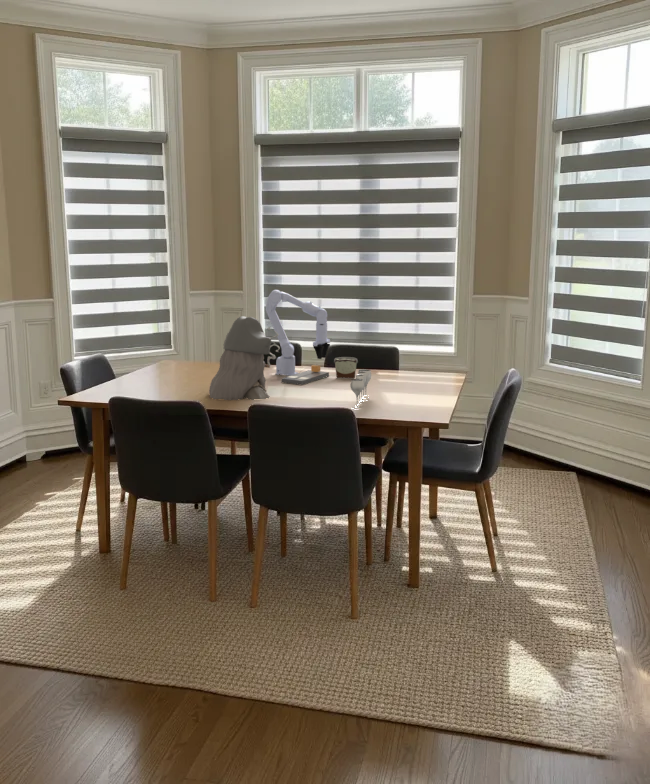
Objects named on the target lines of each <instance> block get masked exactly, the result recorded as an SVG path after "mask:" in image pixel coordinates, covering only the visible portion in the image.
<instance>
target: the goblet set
mask: <svg viewBox="0 0 650 784" xmlns="http://www.w3.org/2000/svg"><path fill="white" fill-rule="evenodd" d="M357 371H358V372H357V374H355V379H354V378H351V382H350V386H349V387H350V390H351V391H352V392H353V393H354V395H355V397H356V398H355V399H356V404H357V406H354V407H355V408H359V407H360V406H358V405H360V404H361V403H360V402H364V401H365V400H362V399H366V398H364V396H367V388H368V387H367V386H368V384H369V383H370V381H371V379H372V370H371V369H366V368H363V369H361V368H360V369H358V370H357ZM362 396H363V397H362ZM360 398H361V400H360ZM358 401H359V403H358ZM351 409H352V410H355V409H354V408H352V407H351Z"/></svg>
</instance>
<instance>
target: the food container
mask: <svg viewBox="0 0 650 784" xmlns="http://www.w3.org/2000/svg"><path fill="white" fill-rule="evenodd" d="M333 363H334V365H335V366H334V368H335V376H336V377H337V378H336V377H335V378H336V379H354V378H355V379H356V371H357V364H358V363H359V361H358V358H356V357H353V356H352V357H351V356H341V357H340V356H339V357H335V358H334V359H333Z"/></svg>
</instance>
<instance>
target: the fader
mask: <svg viewBox="0 0 650 784" xmlns="http://www.w3.org/2000/svg"><path fill="white" fill-rule="evenodd" d="M310 368H311V369H310V370H311V371H312V372H320V371H321V365H317V364H312V365H311V367H310Z"/></svg>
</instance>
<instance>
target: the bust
mask: <svg viewBox="0 0 650 784" xmlns="http://www.w3.org/2000/svg"><path fill="white" fill-rule="evenodd" d="M267 330H268V331H272V332H274V329H271V326H269V327H267ZM277 337H278V333H277V332H276V333H275V335H274V336H271V337H268V336H267V335H266V334H265V331H264V329H263V327H262V324H261V323H260V321H259V320H258V319H257V318H255V317H253V316H246V315H245V316H244V315H243V316H239V317H237V318H236V319H235V320H234V321H233V323H232V325H231V328H230V329H229V331H228V332H227V334H226V336H225V339H224V341H223V349H224V350H223V353H222V354H221V356H220V358H219V367H218V370H217V372H216V374H215V375H214V376H213V378H212V380H211V382H210V383H209V385H210V386H209V389H208V390H209V392H208V393H209V394H210V395H209V398H210V397H211V398H213V399H212V400H215V399H224V401H239V400H238V399H240V400H243V399H246V398H248V399H247V400H250V399H251V400H252V401H255V400H254V399H263V400H266V398H268V399H269V397H270V395H269V394H268V393H267V389H266V377H265V374H264V373H265V372H264V371H265V368H269V369H270V368H271V363H270V360H277V356H276V355H275V354H273V353H272V352H271V348H272V347H273V346H274V347H277V349H276V350H274V351H275V352H276V353H280V352H279V351H280V350H281V346H279V345H278V344H276V342H275V341H272V339H273V338H277ZM272 343H273V344H272ZM264 355H268V356H267V359H266V360H267V361H266V362H267V364H266V362H265V361H264V359H265V356H264ZM269 355H270V356H269ZM211 398H210V399H211ZM270 398H271V397H270Z"/></svg>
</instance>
